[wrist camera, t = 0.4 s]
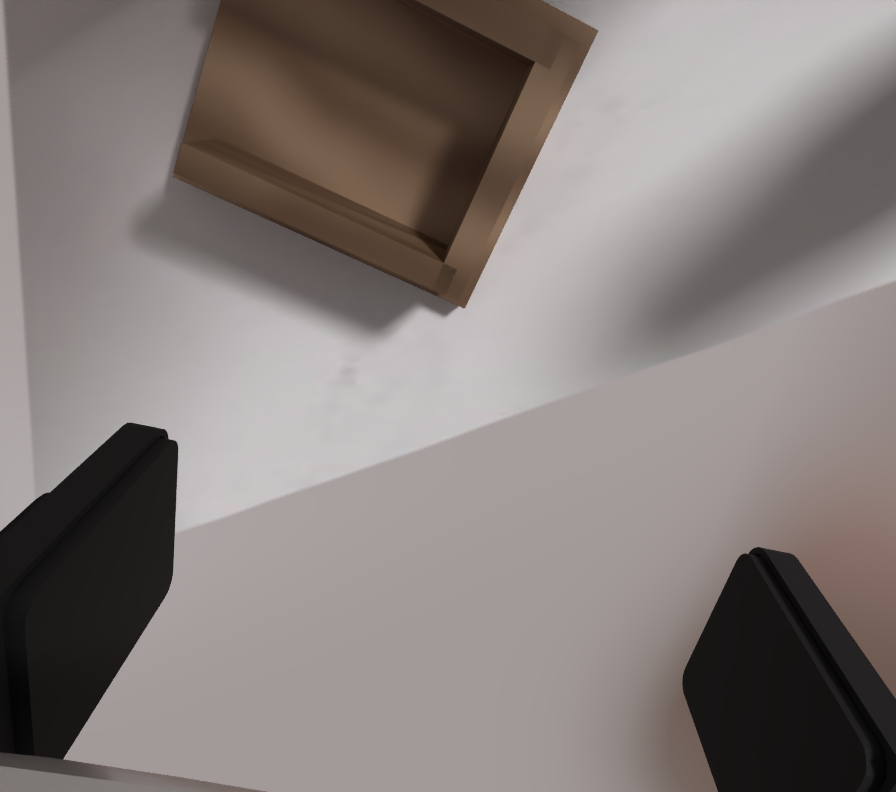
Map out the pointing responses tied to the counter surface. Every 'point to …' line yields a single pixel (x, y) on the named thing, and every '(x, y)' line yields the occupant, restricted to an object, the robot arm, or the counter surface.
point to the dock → (382, 123)
